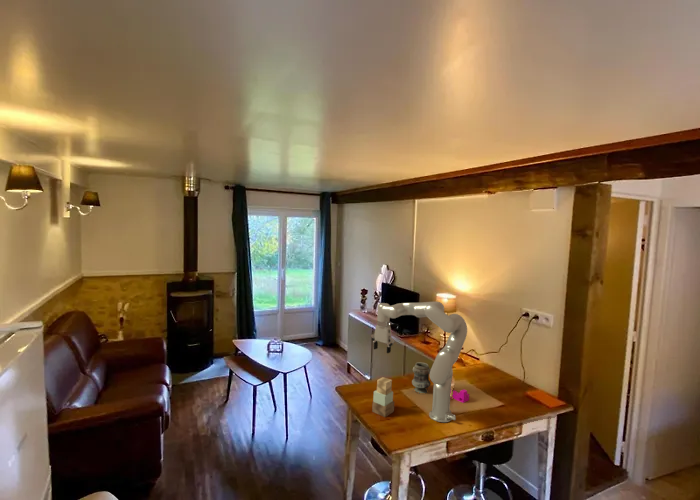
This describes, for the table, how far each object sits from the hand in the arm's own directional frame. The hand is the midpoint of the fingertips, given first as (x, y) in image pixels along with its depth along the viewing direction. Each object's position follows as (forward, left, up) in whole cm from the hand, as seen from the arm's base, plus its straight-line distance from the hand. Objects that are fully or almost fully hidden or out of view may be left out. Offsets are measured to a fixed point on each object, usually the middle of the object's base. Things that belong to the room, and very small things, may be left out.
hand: (381, 350), depth 230 cm
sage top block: (-11, +12, -24) cm, 29 cm away
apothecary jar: (-13, -28, -31) cm, 43 cm away
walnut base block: (-11, +12, -31) cm, 35 cm away
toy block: (-34, -35, -31) cm, 58 cm away
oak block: (-11, +12, -18) cm, 25 cm away
